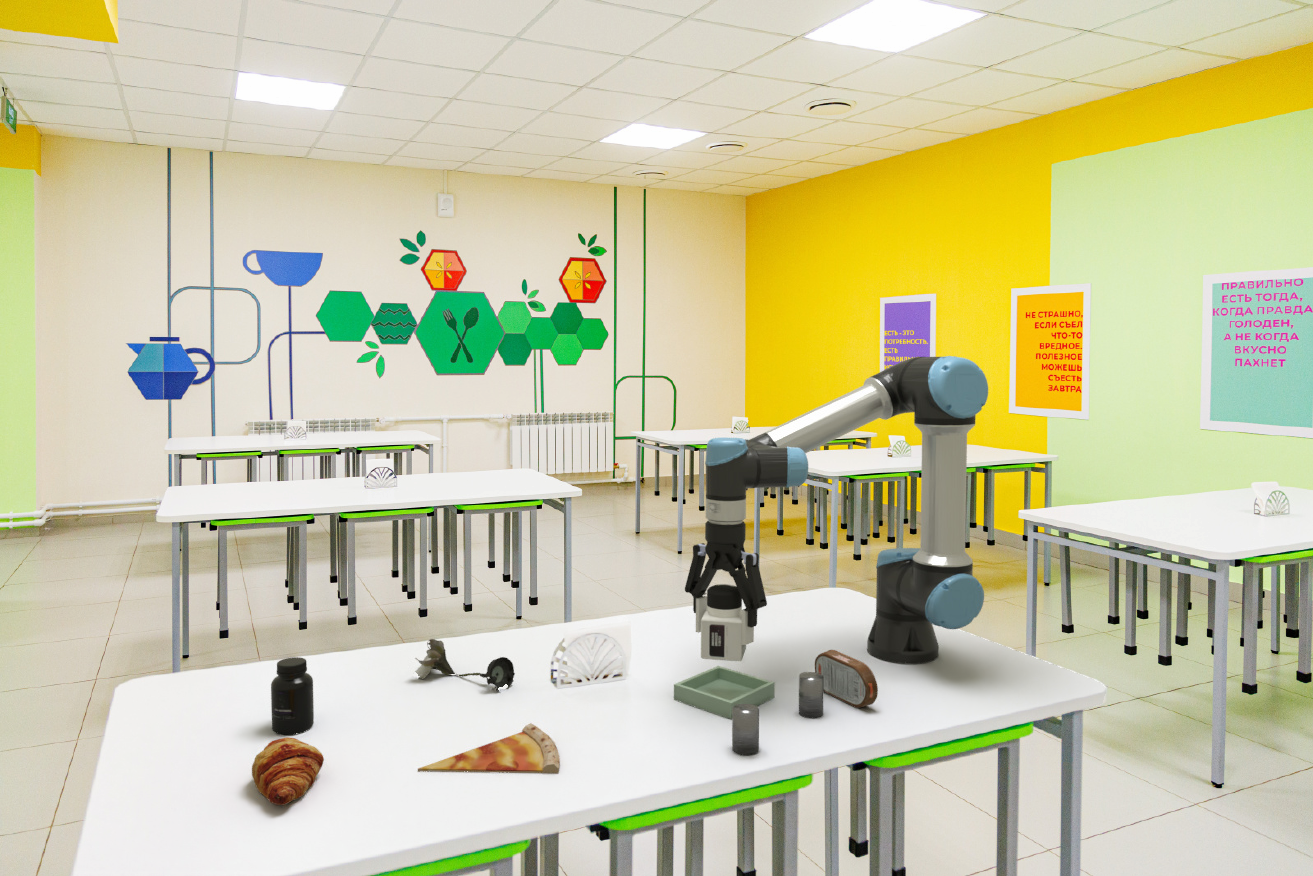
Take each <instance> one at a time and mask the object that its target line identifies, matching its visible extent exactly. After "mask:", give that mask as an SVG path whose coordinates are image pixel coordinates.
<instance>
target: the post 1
mask: <svg viewBox="0 0 1313 876" xmlns="http://www.w3.org/2000/svg"><path fill="white" fill-rule="evenodd" d="M731 721H732V723H731V724H732V729H731V731H732V732H731V733H732V735H731V737H732V738H731V740H732V743H731V744H732V745H731V750H732V752H733V753H734V754H736V755H739V756H746V757H748V756H749V757H750V756H754V755H757V754H758V753H759V752H760V708H759V707H758V706H755V705H752V704H737V705H735V706H733V708H732V719H731Z"/></svg>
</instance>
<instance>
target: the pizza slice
mask: <svg viewBox="0 0 1313 876" xmlns="http://www.w3.org/2000/svg"><path fill="white" fill-rule="evenodd" d="M560 759H561V758H560V754H559V750H558V747H557V745H556V742H555V741H554V740H553V738H551V737H550V735H549V734H547V733H546V732H545V731H543V730H542V729H541V728H539V727H538V726H537V725H535V724H534V723H532V722H530V723H528V724H526V725H525V726H524V727H523V728H522V730H521V732H518V733H514V734H512V735H509V736H506V737H504V738H501V739H498V740H496V741H492V742H489V743H487V744H484V745H481V746H477V747H474V748H473V749H470V750H466V751H464V752H461V753H458V754H455V755H452V756H450V757H446V758H444V759H440V760H438V761H436V762H432V763H429V764H426V765H424V766H422V767H418V768H417V772H420V771H423V772H424V771H425V772H426V771H427V772H429V771H430V772H438V773H439V772H440V773H490V772H499V773H500V772H502V773H503V774H509V773H511V774H512V773H513V774H559V772H560V767H561V763H560V762H561V760H560ZM464 771H465V772H464ZM467 771H468V772H467ZM504 772H506V773H504ZM508 772H509V773H508ZM502 773H501V774H502Z"/></svg>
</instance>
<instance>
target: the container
mask: <svg viewBox="0 0 1313 876" xmlns="http://www.w3.org/2000/svg"><path fill="white" fill-rule="evenodd" d="M706 593H707V594H706V596H707V610H706V611H705V613H704V615H703V617H702V619H701V632H700V658H701V659H703V660H715V661H716V660H717V661H725V662H726V661H727V662H728V661H731V662H742V661H743V659H744V656H745V653H746V650H747V645H742V610H743V600H742V598H741V595H740V593H739V591H738V588H737V586H736V585H734V584H729V583H719V584H714V585H712V586H710V587H709V586H708V588H707V590H706Z"/></svg>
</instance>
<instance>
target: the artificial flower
mask: <svg viewBox="0 0 1313 876" xmlns="http://www.w3.org/2000/svg"><path fill="white" fill-rule="evenodd" d="M426 643H427V645H426V646H427V648H428V649H427V650H426V656H425V657H424V659H423V660H419V659H418V658H417V657H415V658H414V659H415V660H416V661H417V662H418V663H419V664H420V666H419V667H418V668H417V669H416V670H415V671H414V672H416V673H417V674H418V676H420V677H419V678H418V679H421V678H424V679H425V678H426V677H427V676H428V675H429V673H430V672H431V670H436V671H440V672H441V674H443V675H445V674H455V673H456V672H455V671H454V670H453V668H452V666H451V665H450V663H449V661H448V660H447V654H446V649H445V644H444V642H443V641H442V640H437V639H435V638H431V639H428V641H427V642H426ZM515 674H516V673H515V667H514V664H513V661H512V660H511V659H509V658H508V657H504V656H502V657H501V656H500V657H498V658H495V659H493V660H491V662H490V663H489V664H488V666H487V669H486V673H480V672H472V673H471V672H470V673H462V674H458V675H459V676H462V678H464V677H468V676H480V677H482V678H484V679H485V678H486V682H487V685H488V686H489V685H491V687H494V688H493V690H496V692H497V691H498V692H499V690H498V688H499V687H503V686H504V685H505V684H507V685H508V686H509V687H510V686H512V684H513V682H514V677H515Z"/></svg>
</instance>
